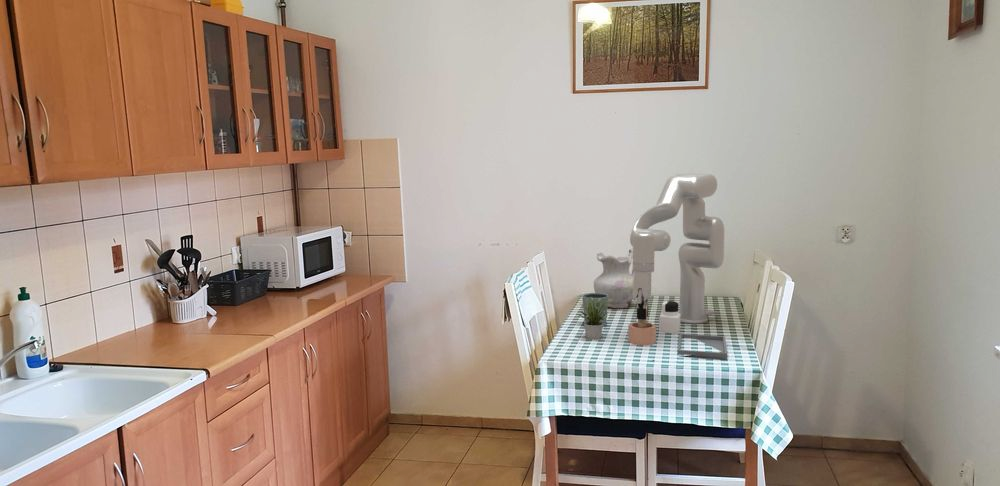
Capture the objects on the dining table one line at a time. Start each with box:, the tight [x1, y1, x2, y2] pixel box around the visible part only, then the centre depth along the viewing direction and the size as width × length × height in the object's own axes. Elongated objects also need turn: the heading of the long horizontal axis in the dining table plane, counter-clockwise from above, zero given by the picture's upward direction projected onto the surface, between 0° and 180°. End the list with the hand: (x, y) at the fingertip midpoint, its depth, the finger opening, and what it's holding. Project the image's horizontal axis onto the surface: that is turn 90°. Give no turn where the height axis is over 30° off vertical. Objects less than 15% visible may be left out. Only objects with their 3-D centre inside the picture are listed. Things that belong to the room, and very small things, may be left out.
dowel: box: [637, 302, 648, 328], centre depth 259 cm, size 3×3×14 cm
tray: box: [677, 333, 728, 361], centre depth 252 cm, size 22×16×2 cm
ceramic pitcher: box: [593, 248, 635, 309], centre depth 320 cm, size 22×20×25 cm
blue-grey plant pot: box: [581, 292, 608, 328], centre depth 287 cm, size 10×10×12 cm
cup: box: [627, 321, 657, 346], centre depth 259 cm, size 9×9×7 cm
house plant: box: [575, 297, 613, 340], centre depth 265 cm, size 14×14×16 cm
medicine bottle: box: [658, 300, 681, 334], centre depth 274 cm, size 7×7×12 cm
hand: (642, 317), depth 258 cm, fingers closed on dowel, 3 cm apart
